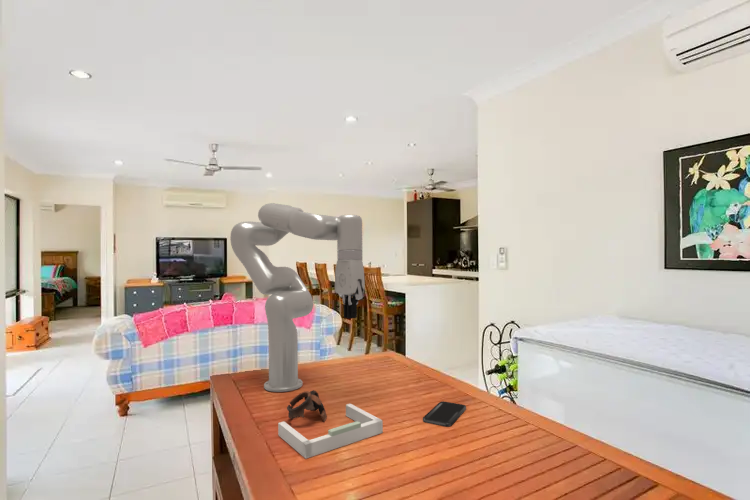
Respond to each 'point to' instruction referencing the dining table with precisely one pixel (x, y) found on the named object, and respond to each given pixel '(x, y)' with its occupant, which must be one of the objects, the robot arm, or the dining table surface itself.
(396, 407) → the dining table surface
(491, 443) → the dining table surface
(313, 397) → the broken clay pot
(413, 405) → the dining table surface
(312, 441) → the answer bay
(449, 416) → the phone
